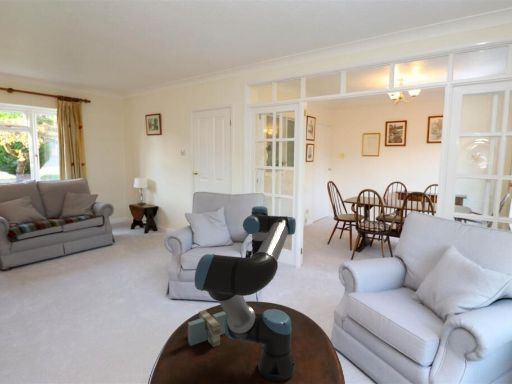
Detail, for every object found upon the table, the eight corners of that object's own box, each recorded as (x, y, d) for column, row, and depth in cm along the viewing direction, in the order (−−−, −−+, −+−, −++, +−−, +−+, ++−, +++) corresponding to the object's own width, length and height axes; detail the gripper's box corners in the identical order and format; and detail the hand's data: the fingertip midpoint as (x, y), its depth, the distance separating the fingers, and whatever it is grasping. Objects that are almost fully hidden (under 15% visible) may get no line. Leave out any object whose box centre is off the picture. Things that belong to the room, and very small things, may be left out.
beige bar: (220, 344, 140) (219, 324, 139) (213, 347, 138) (213, 326, 137) (205, 328, 153) (205, 309, 152) (199, 330, 151) (198, 311, 150)
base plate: (225, 329, 152) (225, 310, 151) (228, 332, 150) (228, 313, 149) (188, 342, 141) (187, 322, 140) (190, 346, 139) (190, 325, 138)
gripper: (275, 233, 153) (275, 273, 156) (232, 241, 139) (233, 284, 142) (285, 236, 147) (284, 278, 150) (241, 245, 133) (241, 290, 136)
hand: (259, 281), depth 146 cm, fingers open, 13 cm apart
